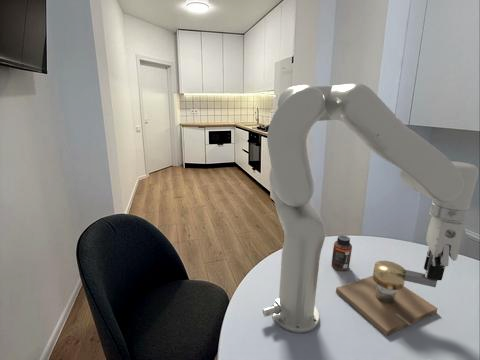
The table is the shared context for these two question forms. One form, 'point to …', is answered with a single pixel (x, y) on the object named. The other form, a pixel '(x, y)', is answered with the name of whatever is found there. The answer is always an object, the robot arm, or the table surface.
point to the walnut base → (386, 305)
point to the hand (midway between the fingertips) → (432, 273)
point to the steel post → (385, 294)
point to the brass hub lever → (400, 275)
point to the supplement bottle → (341, 253)
